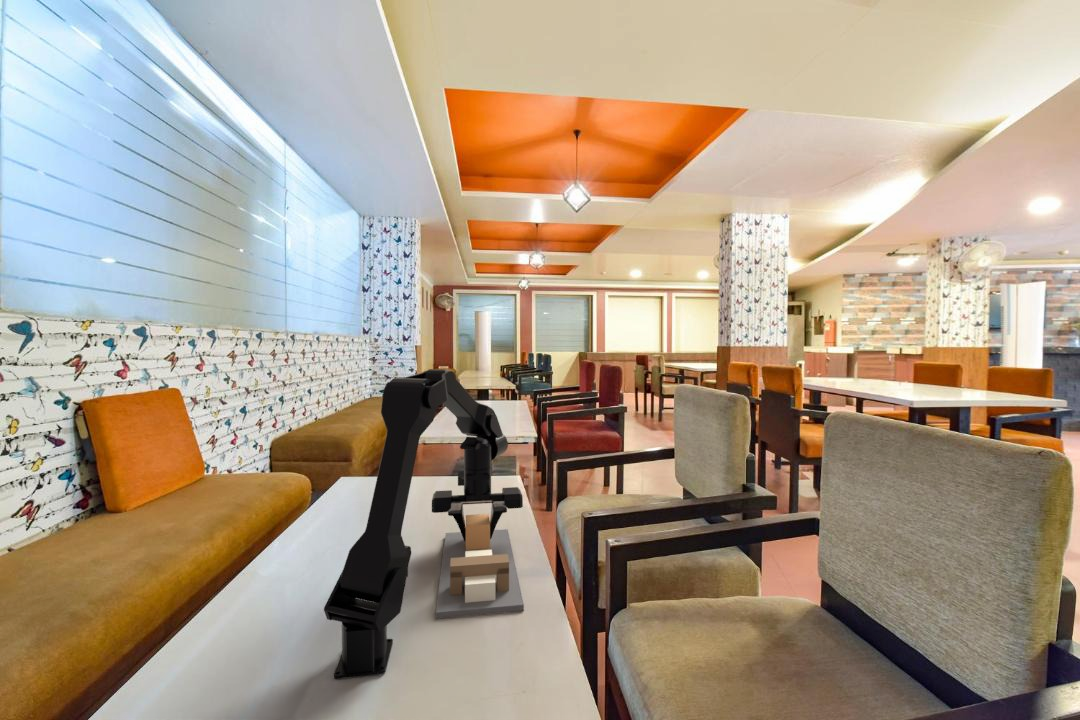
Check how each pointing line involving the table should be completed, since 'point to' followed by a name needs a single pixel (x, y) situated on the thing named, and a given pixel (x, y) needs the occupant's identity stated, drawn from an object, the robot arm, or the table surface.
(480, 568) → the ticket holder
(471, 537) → the peach cube cap
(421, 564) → the table surface
